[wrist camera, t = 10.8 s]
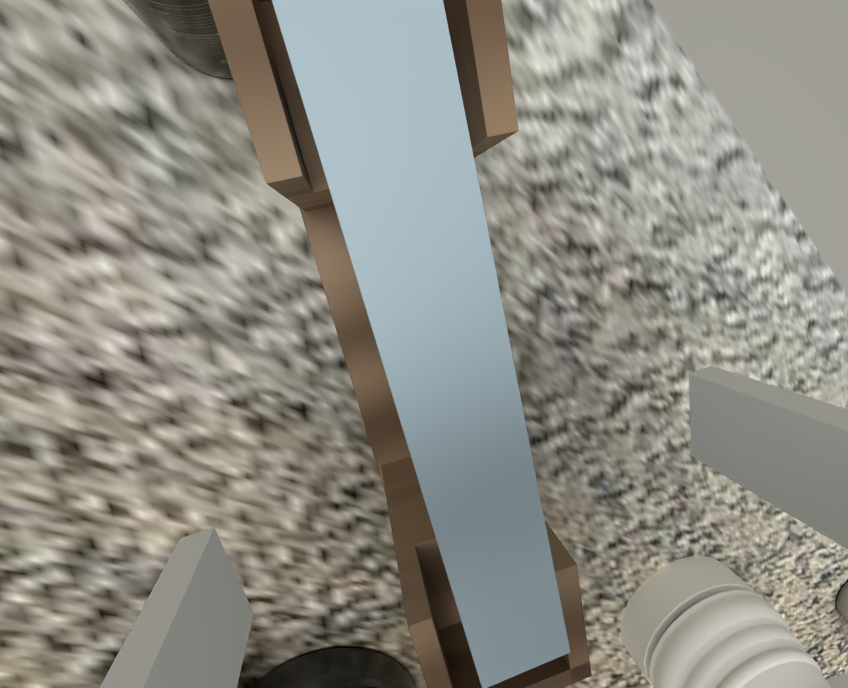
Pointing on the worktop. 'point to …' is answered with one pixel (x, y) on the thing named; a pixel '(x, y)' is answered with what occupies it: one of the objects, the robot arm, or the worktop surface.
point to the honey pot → (711, 632)
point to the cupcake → (843, 601)
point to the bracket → (307, 188)
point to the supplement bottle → (186, 32)
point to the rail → (433, 304)
